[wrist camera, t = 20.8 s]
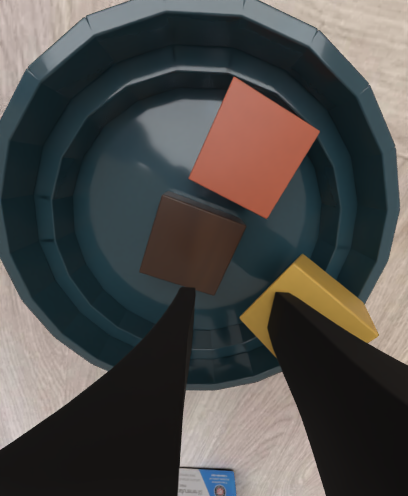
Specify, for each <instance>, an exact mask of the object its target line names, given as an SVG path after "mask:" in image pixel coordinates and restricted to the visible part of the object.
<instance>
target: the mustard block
mask: <svg viewBox="0 0 408 496" xmlns="http://www.w3.org/2000/svg"><path fill="white" fill-rule="evenodd" d="M275 292H289V293H291V294H292V295H294V296H296V297H297V298H299V299H300V300H302V301H303V302H305V303H306V304H308V305H309V306H311V307H312V308H314V309H315V310H316V311H318V312H319V313H321V314H322V315H324V316H325V317H327V318H328V319H330V320H331V321H333V322H334V323H336V324H337V325H339V326H340V327H342V328H343V329H345V330H347V331H348V332H350V333H351V334H353V335H355V336H356V337H358V338H359V339H361V340H363V341H364V342H366V343H369V342H370V341H372V340H373V339H375V338H376V337H378V336H379V334H378V332H377V330H376V328H375V326H374V324H373V322H372V319H371V317H370V315H369V313H368V311H367V309H366V307H365V305H364V303H363V302H362V301H361V300H360V299H359V298H357V297H356V296H355V295H354V294H352V293H351V292H350V291H349V290H347V289H346V288H345V287H344V286H342V285H341V284H340V283H339V282H337V281H336V280H335V279H334V278H333V277H331V276H330V275H329V274H328V273H326V272H325V271H324V270H323V269H321V268H320V267H319V266H318V265H316V264H315V263H314V262H313V261H311V260H310V259H309V258H308V257H306V256H305V255H304V254H301V255H300V256H299V257H298V258H297V259H296V260H295V261H294V262H293V263H292V264H291V265H290V266H289V267H288V268H287V269H286V270H285V271H284V272H283V273H282V274H281V275H280V276H279V277H278V278H277V279H276V280H275V281H274V282H273V283H272V284H271V285H270V286H269V287H268V288H267V289H266V290H265V291H264V292H263V293H262V294H261V295H260V296H259V297H258V299H257V300H256V301H255V302H254V303H253V304H252V305H251V306H250V307H249V308H248V309H247V310H246V311H245V312H244V313H243V314H242V315H241V316H240V320H241V321H242V322H243V323H244V324H245V325H246V326H247V327H248V328H249V329H250V330H251V331H252V332H253V333H254V335H255V336H256V337H257V338H258V339H259V340H260V341H261V342H262V343H263V344H264V345H265V346H266V347H267V348H268V349H269V351H270V352H271V353H272V354H273V355H274V356H275V357H276V355H275V353H274V350H273V347H272V344H271V341H270V337H269V333H268V329H267V326H268V322H269V317H270V313H271V309H272V305H273V300H274V296H275Z"/></svg>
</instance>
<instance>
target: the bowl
mask: <svg viewBox="0 0 408 496" xmlns="http://www.w3.org/2000/svg"><path fill="white" fill-rule="evenodd" d="M317 30H318V29H317V28H315V27H313V26H311V25H309V24H307V23H305V22H303V21H301V20H299V19H297V18H294V17H292V16H290V15H288V14H286V13H284V12H282V11H280V10H278V9H276V8H274V7H272V6H270V5H267V4H265V3H263V2H261V1H259V0H130V1H127V2H124V3H121V4H118V5H115V6H112V7H110V8H107V9H104V10H101V11H98V12H95V13H92V14H89V15H87V16H86V18H85V17H84V18H82V19H81V20H80V21H79V22H78V23H77V24H76V25H74V26H73V27H72V28H71V29H70V30H69V31H68V32H67V33H65V34H64V35H63V36H62V37H61V38H60V39H59V40H58V41H56V42H55V43H54V44H53V45H52V46H51V47H50V48H48V49H47V50H46V51H45V52H44V53H43V54H42V55H41V56H39V57H38V58H37V59H36V60H35V61H34V62H33V63H32V64H30V65H29V66H28V69H26V70H25V72H24V74H23V76H22V78H21V80H20V82H19V84H18V86H17V88H16V90H15V92H14V94H13V96H12V98H11V100H10V102H9V104H8V106H7V108H6V110H5V112H4V114H3V116H2V118H1V120H0V259H1V261H2V263H3V265H4V266H5V268H6V270H7V272H8V274H9V276H10V278H11V280H12V282H13V284H14V286H15V288H16V290H17V292H18V294H19V296H20V298H21V300H23V302H24V304H25V305H26V306H27V307H28V308H29V309H30V310H31V312H32V313H33V314H34V315H35V316H36V317H37V318H38V319H39V321H40V322H41V323H42V324H43V325H44V326H45V327H46V329H47V330H48V331H49V332H50V333H51V334H52V335H53V336H54V337H55V338H56V339H57V340H59V341H60V342H61V343H63V344H64V345H66V346H67V347H68V348H70V349H71V350H73V351H74V352H75V353H77V354H78V355H80V356H81V357H82V358H84V359H85V360H87V361H88V362H89V363H91V364H93V365H95V366H97V367H99V368H102V369H104V370H106V371H109V370H110V369H111V368H113V367H114V366H115V365H116V364H117V363H118V362H119V361H120V360H121V359H123V358H124V357H125V356H126V355H127V354H128V353H129V352H130V351H131V350H132V349H133V348H134V347H135V346H136V345H137V344H138V343H139V342H140V341H141V340H142V339H143V338H144V337H145V336H146V335H147V334H148V332H149V331H150V330H151V329H152V328H153V327H154V325H155V324H156V323H157V322H158V320H159V319H160V318H161V317H162V315H163V314H164V313H165V311H166V310H167V309H168V307H169V306H170V304H171V303H172V301H173V300H174V298H175V296H176V295H177V293H178V290H179V289H180V288H181V287H184V286H181V285H178V284H175V283H172V282H168V281H165V280H162V279H159V278H156V277H153V276H149V275H146V274H143V273H140V272H139V270H140V267H141V263H142V260H143V257H144V253H145V250H146V247H147V243H148V240H149V237H150V233H151V230H152V227H153V223H154V220H155V216H156V213H157V210H158V206H159V203H160V200H161V196H162V194H164V193H165V192H167V191H170V192H173V193H175V194H178V195H181V196H183V197H186V198H189V199H191V200H194V201H196V202H199V203H202V204H204V205H207V206H210V207H212V208H215V209H217V210H220V211H223V212H225V213H228V214H231V215H233V216H236V217H239V218H240V219H241V220H242V221H243V222H244V224H245V225H246V229H245V231H244V233H243V235H242V237H241V240H240V242H239V244H238V246H237V248H236V250H235V252H234V255H233V257H232V259H231V261H230V263H229V265H228V268H227V270H226V272H225V274H224V276H223V278H222V280H221V283H220V285H219V287H218V289H217V291H216V293H215V295H214V296H213V295H210V294H207V293H203V292H200V291H197V290H196V296H195V310H194V324H193V337H192V349H191V356H190V363H189V371H188V378H187V385H186V390H220V389H225V388H230V387H235V386H240V385H245V384H250V383H255V382H258V381H261V380H263V379H266V378H268V377H270V376H273V375H275V374H278V373H280V372H282V370H281V367H280V365H279V362H278V360H277V358H276V357H275V356H274V355H273V354H272V353H271V352H270V351H269V349H268V348H267V347H266V346H265V345H264V344H263V343H262V342H261V341H260V340H259V339H258V338H257V337H256V336H255V335H254V333H253V332H252V331H251V330H250V329H249V328H248V327H247V326H246V325H245V324H244V323H243V322H242V321H241V320H240V316H241V315H242V314H243V313H244V312H245V311H246V310H247V309H248V308H249V307H250V306H251V305H252V304H253V303H254V302H255V301H256V300H257V299H258V297H259V296H260V295H261V294H262V293H263V292H264V291H265V290H266V289H267V288H268V287H269V286H270V285H271V284H272V283H273V282H274V281H275V280H276V279H277V278H278V277H279V276H280V275H281V274H282V273H283V272H284V271H285V270H286V269H287V268H288V267H289V266H290V265H291V264H292V263H293V262H294V261H295V260H296V259H297V258H298V257H299V256H300V255H301V254H304V255H305V256H306V257H308V258H309V259H310V260H311V261H313V262H314V263H315V264H316V265H318V266H319V267H320V268H321V269H323V270H324V271H325V272H326V273H328V274H329V275H330V276H331V277H333V278H334V279H335V280H336V281H337V282H339V283H340V284H341V285H342V286H344V287H345V288H346V289H347V290H349V291H350V292H351V293H352V294H354V295H355V296H356V297H357V298H359V299H360V300H361V301H362V302H363V303H364V305H365V303H366V301H367V299H368V297H369V296H370V294H371V292H372V290H373V288H374V286H375V284H376V283H377V281H378V279H379V277H380V275H381V273H382V272H383V270H384V268H385V266H386V264H387V262H388V259H389V255H390V251H391V246H392V242H393V238H394V233H395V229H396V225H397V220H398V216H399V212H400V199H399V185H398V170H397V156H396V148H395V144H394V141H393V139H392V136H391V134H390V132H389V129H388V127H387V124H386V122H385V120H384V117H383V115H382V112H381V110H380V108H379V105H378V103H377V100H376V98H375V96H374V93H373V91H372V89H371V86H370V85H369V83H368V82H367V81H366V80H365V78H364V77H363V76H362V75H361V74H360V73H359V72H358V71H357V70H356V69H355V68H354V67H353V66H352V64H351V63H350V62H349V61H348V60H347V59H346V58H345V57H344V56H343V55H342V54H341V53H340V52H339V50H338V49H337V48H336V47H335V46H334V45H333V44H332V43H331V42H330V41H329V40H328V39H327V38H326V36H325V35H324V34H323V33H322V32H321V31H320V30H318V31H317ZM233 77H236V78H238V79H239V80H241V81H242V82H244V83H245V84H247V85H249V86H250V87H252V88H253V89H255V90H256V91H258V92H260V93H261V94H263V95H264V96H266V97H267V98H269V99H271V100H272V101H274V102H275V103H277V104H278V105H280V106H282V107H283V108H285V109H286V110H288V111H289V112H291V113H293V114H294V115H296V116H297V117H299V118H300V119H302V120H303V121H305V122H307V123H308V124H310V125H311V126H313V127H314V128H316V129H318V130H319V131H320V133H319V134H318V136H317V138H316V139H315V141H314V143H313V144H312V146H311V147H310V149H309V151H308V152H307V154H306V156H305V157H304V159H303V161H302V162H301V164H300V166H299V167H298V169H297V170H296V172H295V174H294V175H293V177H292V179H291V180H290V182H289V184H288V185H287V187H286V188H285V190H284V192H283V193H282V195H281V197H280V198H279V200H278V202H277V203H276V205H275V206H274V208H273V210H272V211H271V213H270V215H269V216H268V218H267V219H265V218H263V217H261V216H259V215H258V214H256V213H254V212H252V211H250V210H248V209H246V208H244V207H242V206H240V205H238V204H236V203H234V202H232V201H230V200H228V199H226V198H224V197H223V196H221V195H219V194H217V193H215V192H213V191H211V190H209V189H207V188H205V187H203V186H201V185H199V184H197V183H195V182H193V181H191V180H189V176H190V173H191V171H192V169H193V167H194V164H195V162H196V160H197V158H198V155H199V153H200V151H201V149H202V146H203V144H204V142H205V140H206V137H207V135H208V133H209V131H210V128H211V126H212V124H213V122H214V119H215V117H216V115H217V113H218V110H219V108H220V106H221V104H222V101H223V99H224V97H225V95H226V92H227V90H228V88H229V86H230V83H231V81H232V79H233Z"/></svg>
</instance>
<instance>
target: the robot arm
mask: <svg viewBox="0 0 408 496" xmlns="http://www.w3.org/2000/svg"><path fill="white" fill-rule="evenodd" d="M195 296H196V290H195V288H194V287H181V288H180V289H179V290H178V293H177V295H176V296H175V298H174V300H173V301H172V303H171V304H170V306H169V307H168V309H167V310H166V311H165V313H164V314H163V315H162V317H161V318H160V319H159V320H158V322H157V323H156V324H155V325H154V327H153V328H152V329H151V330H150V331H149V332H148V334H147V335H146V336H145V337H144V338H143V339H142V340H141V341H140V342H139V343H138V344H137V345H136V346H135V347H134V348H133V349H132V350H131V351H130V352H129V353H128V354H127V355H126V356H125V357H124V358H123V359H121V360H120V361H119V362H118V363H117V364H116V365H115V366H114V367H113V368H111V369H110V370H109V371H108V372H107V373H106V374H104V375H103V376H102V377H101V378H100V379H98V380H97V381H96V382H94V383H93V384H92V385H91V386H89V387H88V388H87V389H86V390H84V391H83V392H82V393H80V394H79V395H78V396H77V397H75V398H74V399H73V400H71V401H70V402H69V403H67V404H66V405H65V406H63V407H62V408H61V409H59V410H58V411H57V412H55V413H54V414H52V415H51V416H49V417H48V418H46V419H45V420H44V421H42V422H41V423H39V424H38V425H36V426H35V427H33V428H32V429H31V430H29V431H28V432H26V433H25V434H23V435H22V436H20V437H19V438H17V439H16V440H15V441H13V442H12V443H10V444H9V445H7V446H6V447H4V448H2V449H1V450H0V496H178V484H179V468H180V452H181V436H182V420H183V409H184V400H185V392H186V385H187V378H188V371H189V363H190V356H191V349H192V337H193V324H194V310H195ZM267 329H268V333H269V337H270V341H271V344H272V347H273V350H274V353H275V355H276V358H277V360H278V362H279V365H280V367H281V370H282V372H283V374H284V377H285V379H286V381H287V384H288V386H289V388H290V391H291V393H292V395H293V398H294V400H295V402H296V405H297V407H298V410H299V413H300V415H301V418H302V421H303V424H304V427H305V430H306V433H307V436H308V439H309V442H310V445H311V448H312V451H313V454H314V458H315V461H316V464H317V468H318V471H319V474H320V477H321V481H322V484H323V487H324V490H325V494H326V496H408V365H406V364H404V363H402V362H400V361H398V360H396V359H395V358H393V357H391V356H389V355H387V354H385V353H384V352H382V351H380V350H378V349H376V348H375V347H373V346H371V345H369V344H368V343H366V342H364V341H363V340H361V339H359V338H358V337H356V336H355V335H353V334H351V333H350V332H348V331H347V330H345V329H343V328H342V327H340V326H339V325H337V324H336V323H334V322H333V321H331V320H330V319H328V318H327V317H325V316H324V315H322V314H321V313H319V312H318V311H316V310H315V309H314V308H312V307H311V306H309V305H308V304H306V303H305V302H303V301H302V300H300V299H299V298H297V297H296V296H294V295H292V294H291V293H289V292H275V296H274V300H273V305H272V309H271V313H270V317H269V322H268V326H267Z"/></svg>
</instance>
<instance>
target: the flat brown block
mask: <svg viewBox="0 0 408 496" xmlns="http://www.w3.org/2000/svg"><path fill="white" fill-rule="evenodd" d="M245 229H246V225H245V224H244V222H243V221H242V220H241V219H240V218H239V217H236V216H233V215H231V214H228V213H225V212H223V211H220V210H217V209H215V208H212V207H210V206H207V205H204V204H202V203H199V202H196V201H194V200H191V199H189V198H186V197H183V196H181V195H178V194H175V193H173V192H170V191H167V192H165V193H164V194H162V196H161V200H160V203H159V206H158V210H157V213H156V216H155V220H154V223H153V227H152V230H151V233H150V237H149V240H148V243H147V247H146V250H145V253H144V257H143V260H142V263H141V267H140V270H139V272H140V273H143V274H146V275H149V276H153V277H156V278H159V279H162V280H165V281H168V282H172V283H175V284H178V285H181V286H184V287H194V288H195V290H197V291H200V292H203V293H207V294H210V295H213V296H214V295H215V293H216V291H217V289H218V287H219V285H220V283H221V280H222V278H223V276H224V274H225V272H226V270H227V268H228V265H229V263H230V261H231V259H232V257H233V255H234V252H235V250H236V248H237V246H238V244H239V242H240V240H241V237H242V235H243V233H244V231H245Z"/></svg>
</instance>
